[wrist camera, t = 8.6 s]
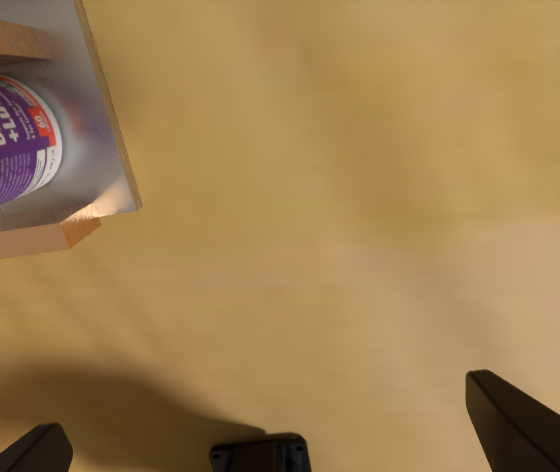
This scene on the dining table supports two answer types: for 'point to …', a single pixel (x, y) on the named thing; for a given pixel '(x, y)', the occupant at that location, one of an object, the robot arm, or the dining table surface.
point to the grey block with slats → (64, 128)
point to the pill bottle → (25, 140)
